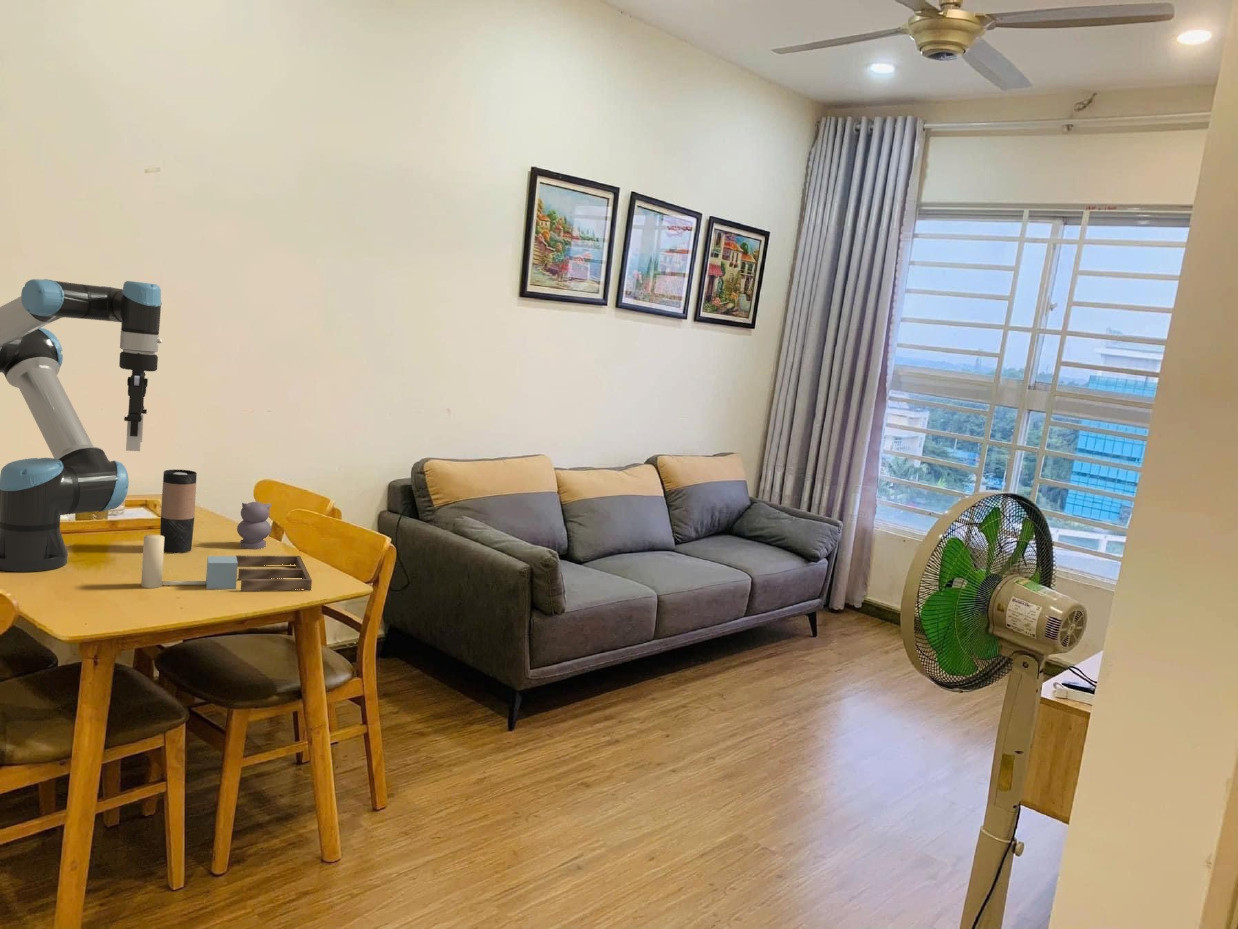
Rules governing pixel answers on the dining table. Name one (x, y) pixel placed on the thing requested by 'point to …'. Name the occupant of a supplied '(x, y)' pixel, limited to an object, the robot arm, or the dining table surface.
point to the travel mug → (178, 510)
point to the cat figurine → (254, 525)
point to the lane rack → (273, 573)
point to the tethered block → (217, 577)
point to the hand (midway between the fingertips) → (134, 446)
